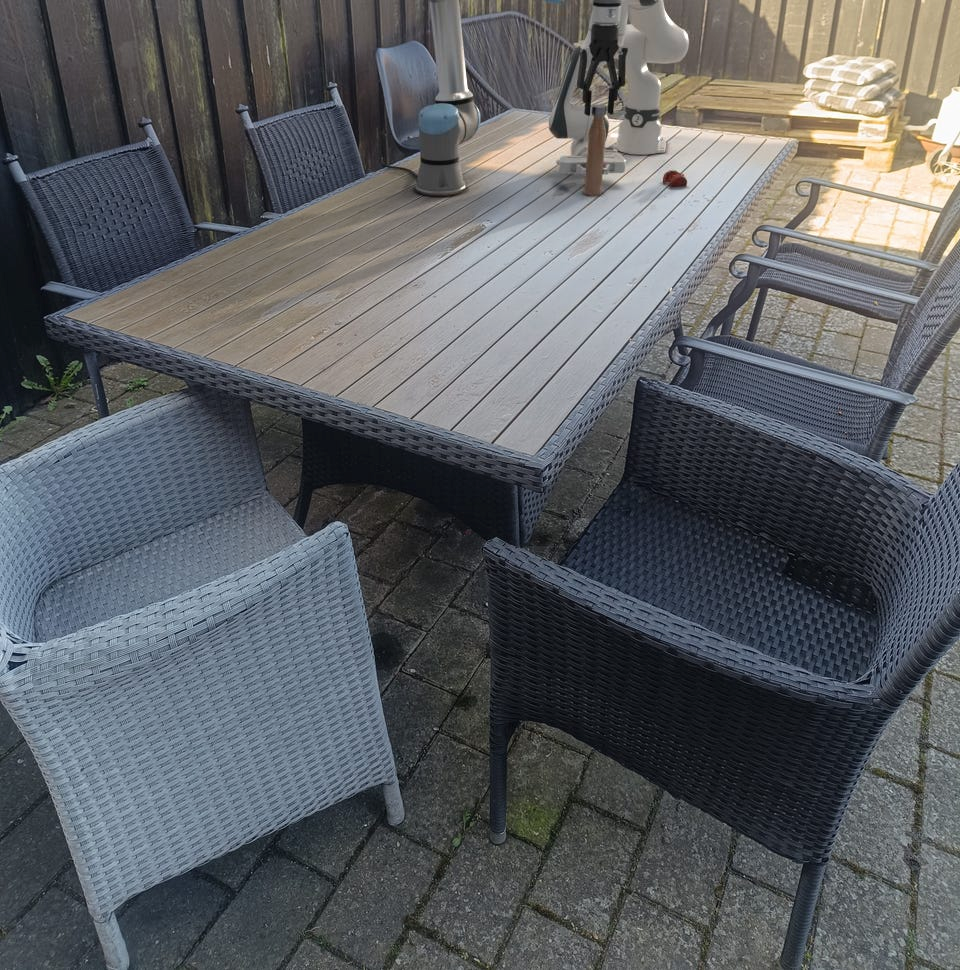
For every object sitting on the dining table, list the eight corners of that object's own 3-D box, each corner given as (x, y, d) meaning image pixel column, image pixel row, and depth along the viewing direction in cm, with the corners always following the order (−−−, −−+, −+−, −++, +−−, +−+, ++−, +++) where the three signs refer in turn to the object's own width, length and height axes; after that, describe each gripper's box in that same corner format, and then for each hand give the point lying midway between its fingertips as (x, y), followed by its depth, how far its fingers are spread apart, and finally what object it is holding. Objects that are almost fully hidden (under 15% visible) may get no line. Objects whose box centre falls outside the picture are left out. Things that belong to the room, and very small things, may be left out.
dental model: (678, 166, 263) (689, 173, 257) (677, 180, 266) (688, 187, 260) (661, 168, 262) (672, 175, 256) (660, 182, 265) (671, 189, 259)
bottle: (588, 196, 253) (595, 110, 239) (581, 191, 257) (587, 106, 243) (604, 194, 254) (611, 109, 240) (596, 190, 258) (603, 105, 244)
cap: (603, 113, 244) (604, 104, 243) (607, 116, 241) (608, 107, 240) (590, 113, 244) (590, 104, 243) (593, 116, 241) (594, 107, 239)
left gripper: (576, 26, 224) (571, 118, 238) (644, 24, 228) (635, 115, 242) (567, 22, 230) (562, 113, 244) (633, 20, 234) (624, 109, 247)
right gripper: (555, 149, 260) (560, 161, 249) (621, 148, 261) (629, 160, 250) (554, 170, 264) (559, 183, 253) (619, 169, 264) (627, 182, 253)
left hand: (598, 113), depth 243 cm, fingers open, 6 cm apart
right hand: (594, 171), depth 251 cm, fingers closed on bottle, 5 cm apart
